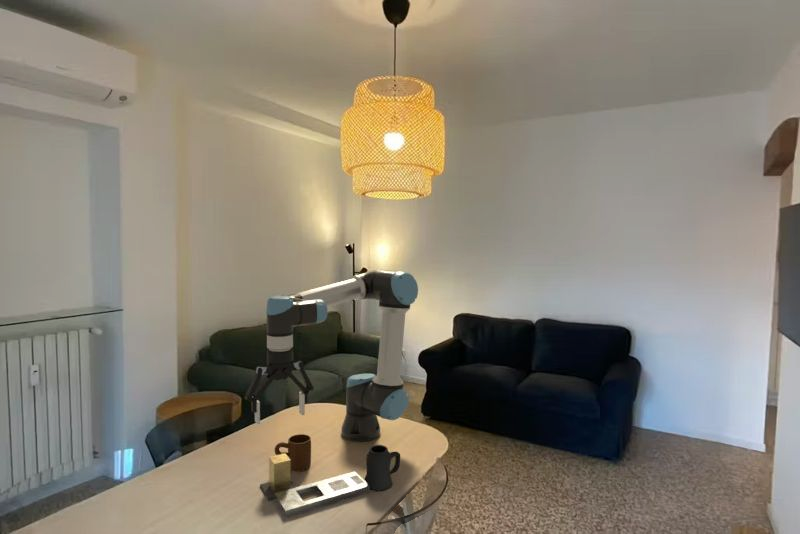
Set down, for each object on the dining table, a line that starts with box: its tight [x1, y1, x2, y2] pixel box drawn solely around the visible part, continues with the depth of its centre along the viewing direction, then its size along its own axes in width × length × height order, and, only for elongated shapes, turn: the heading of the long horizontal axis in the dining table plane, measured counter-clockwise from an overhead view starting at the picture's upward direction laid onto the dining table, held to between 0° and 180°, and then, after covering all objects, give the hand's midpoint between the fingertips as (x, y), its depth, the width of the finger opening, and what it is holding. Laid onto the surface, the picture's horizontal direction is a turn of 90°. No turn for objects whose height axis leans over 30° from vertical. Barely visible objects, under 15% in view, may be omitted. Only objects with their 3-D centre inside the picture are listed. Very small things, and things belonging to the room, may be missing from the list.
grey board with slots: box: [274, 471, 371, 519], centre depth 138 cm, size 26×10×2 cm, turn 122°
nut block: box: [268, 453, 292, 493], centre depth 141 cm, size 5×5×9 cm
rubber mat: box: [259, 478, 297, 501], centre depth 141 cm, size 9×9×1 cm
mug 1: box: [274, 433, 312, 472], centre depth 154 cm, size 12×8×9 cm, turn 116°
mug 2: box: [363, 444, 401, 493], centre depth 146 cm, size 12×9×11 cm
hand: (280, 418), depth 140 cm, fingers open, 13 cm apart
